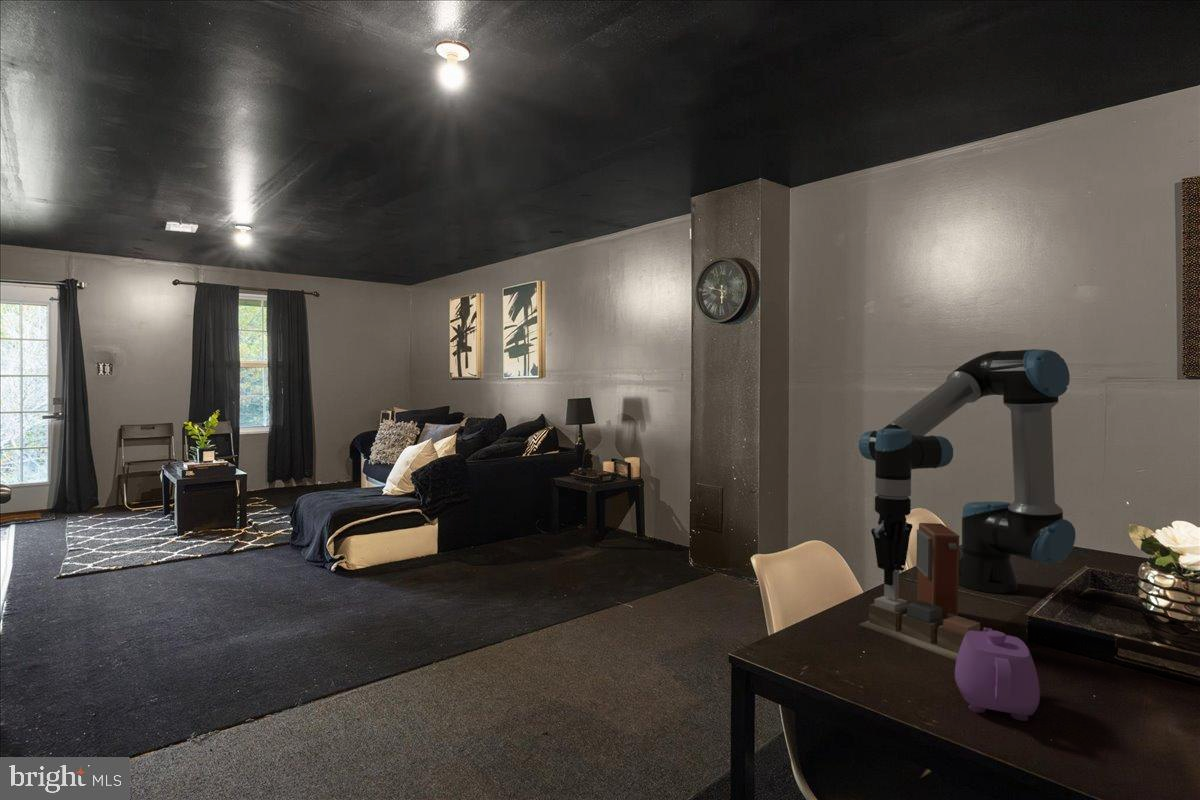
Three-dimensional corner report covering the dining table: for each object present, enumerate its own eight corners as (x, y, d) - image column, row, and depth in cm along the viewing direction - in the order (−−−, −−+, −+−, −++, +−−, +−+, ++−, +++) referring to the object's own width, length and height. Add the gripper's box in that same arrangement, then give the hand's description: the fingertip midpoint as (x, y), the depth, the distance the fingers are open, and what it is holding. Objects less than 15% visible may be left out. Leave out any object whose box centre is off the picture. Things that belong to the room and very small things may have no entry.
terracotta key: (955, 633, 138) (955, 615, 138) (979, 641, 134) (980, 622, 134) (943, 638, 135) (943, 620, 135) (967, 647, 131) (967, 627, 131)
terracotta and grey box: (941, 607, 160) (963, 630, 145) (911, 605, 161) (929, 628, 147) (943, 522, 159) (965, 536, 145) (913, 521, 161) (931, 535, 146)
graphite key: (919, 617, 145) (920, 600, 145) (941, 624, 141) (942, 606, 141) (907, 622, 142) (907, 604, 142) (929, 629, 138) (929, 611, 138)
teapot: (1050, 741, 101) (1052, 661, 100) (960, 723, 106) (961, 647, 105) (1025, 686, 119) (1027, 618, 119) (949, 673, 124) (951, 608, 124)
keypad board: (889, 615, 155) (889, 596, 155) (995, 650, 135) (995, 628, 135) (859, 625, 148) (859, 606, 148) (965, 663, 128) (966, 641, 128)
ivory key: (886, 611, 152) (887, 594, 151) (907, 618, 147) (907, 600, 147) (874, 615, 149) (874, 598, 149) (894, 622, 145) (894, 605, 145)
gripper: (893, 491, 154) (892, 588, 155) (860, 496, 147) (859, 598, 148) (924, 495, 148) (922, 597, 148) (891, 501, 141) (889, 608, 141)
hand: (891, 597), depth 148 cm, fingers closed
